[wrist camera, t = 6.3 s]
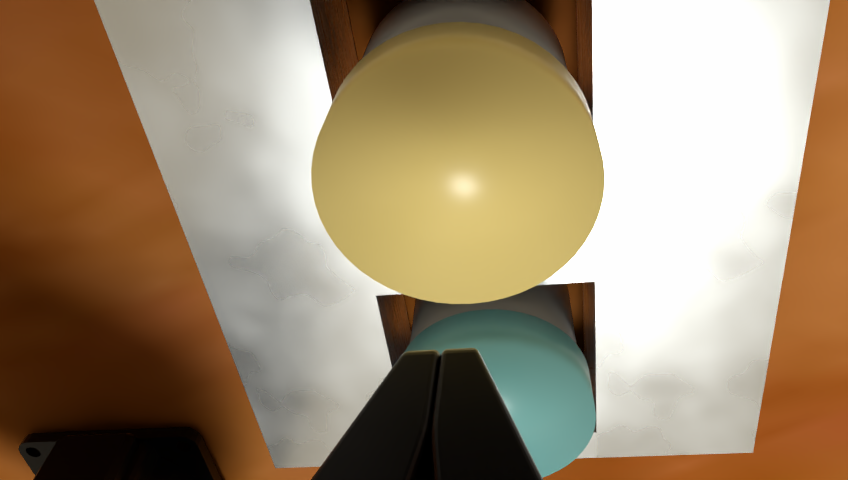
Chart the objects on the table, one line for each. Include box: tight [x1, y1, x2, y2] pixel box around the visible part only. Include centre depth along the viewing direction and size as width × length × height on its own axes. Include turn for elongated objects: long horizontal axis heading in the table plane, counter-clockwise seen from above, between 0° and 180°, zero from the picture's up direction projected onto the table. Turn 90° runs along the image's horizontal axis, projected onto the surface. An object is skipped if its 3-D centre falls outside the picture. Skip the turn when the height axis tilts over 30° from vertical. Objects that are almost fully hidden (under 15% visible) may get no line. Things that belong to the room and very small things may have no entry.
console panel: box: [94, 0, 830, 468], centre depth 15 cm, size 21×13×3 cm, turn 8°
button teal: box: [404, 283, 596, 477], centre depth 18 cm, size 5×5×4 cm
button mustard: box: [311, 0, 605, 304], centre depth 13 cm, size 5×5×4 cm
